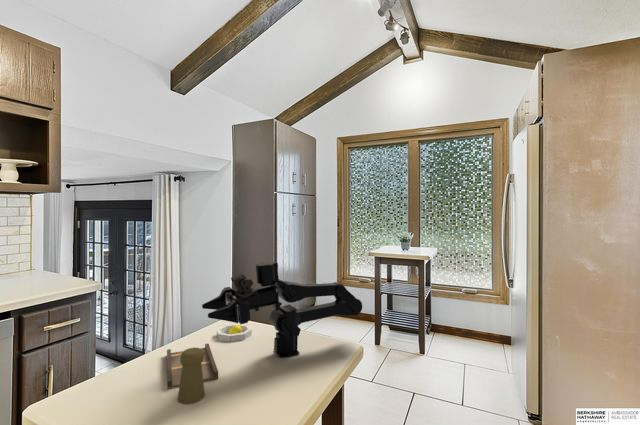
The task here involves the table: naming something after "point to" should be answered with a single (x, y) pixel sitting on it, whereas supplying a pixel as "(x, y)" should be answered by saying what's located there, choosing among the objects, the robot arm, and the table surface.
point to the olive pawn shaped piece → (191, 377)
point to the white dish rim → (233, 337)
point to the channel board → (176, 367)
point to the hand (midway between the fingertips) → (205, 310)
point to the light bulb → (235, 330)
